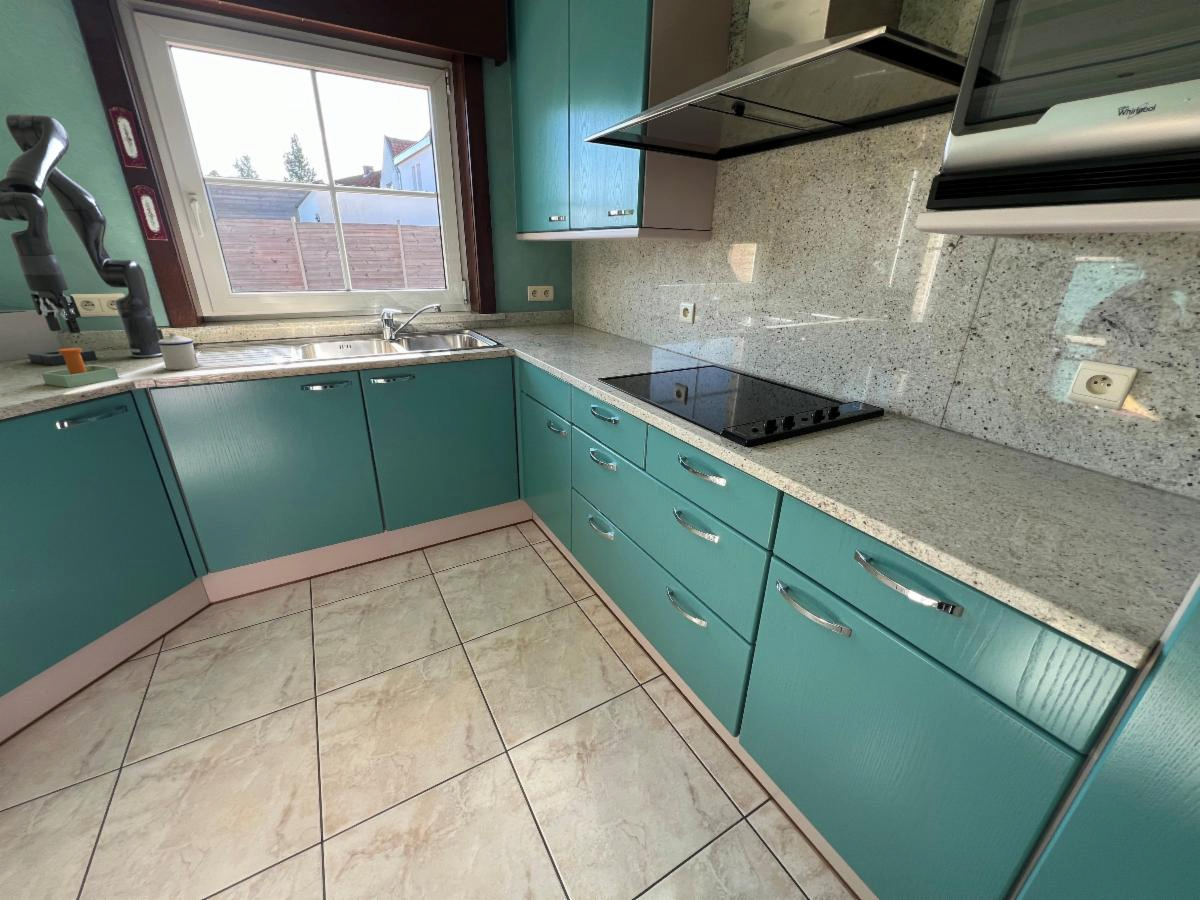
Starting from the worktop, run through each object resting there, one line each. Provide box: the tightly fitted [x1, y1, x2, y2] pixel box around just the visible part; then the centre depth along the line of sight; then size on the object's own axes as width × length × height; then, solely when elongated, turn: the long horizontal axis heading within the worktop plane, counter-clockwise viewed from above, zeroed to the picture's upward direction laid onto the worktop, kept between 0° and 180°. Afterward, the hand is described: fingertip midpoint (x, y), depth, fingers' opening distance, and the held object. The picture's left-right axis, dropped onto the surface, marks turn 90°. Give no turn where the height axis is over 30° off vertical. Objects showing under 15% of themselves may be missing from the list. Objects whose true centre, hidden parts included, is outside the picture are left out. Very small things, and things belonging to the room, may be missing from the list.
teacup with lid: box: [158, 331, 200, 371], centre depth 164 cm, size 12×9×12 cm
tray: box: [41, 364, 119, 388], centre depth 146 cm, size 12×10×3 cm
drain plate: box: [27, 348, 98, 366], centre depth 170 cm, size 12×12×3 cm
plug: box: [57, 347, 87, 375], centre depth 144 cm, size 5×5×9 cm
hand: (65, 332), depth 141 cm, fingers open, 8 cm apart
